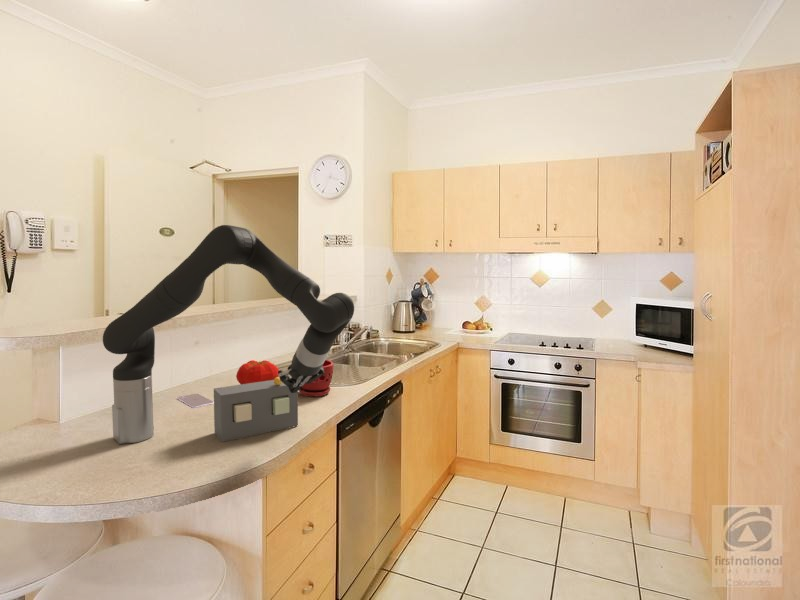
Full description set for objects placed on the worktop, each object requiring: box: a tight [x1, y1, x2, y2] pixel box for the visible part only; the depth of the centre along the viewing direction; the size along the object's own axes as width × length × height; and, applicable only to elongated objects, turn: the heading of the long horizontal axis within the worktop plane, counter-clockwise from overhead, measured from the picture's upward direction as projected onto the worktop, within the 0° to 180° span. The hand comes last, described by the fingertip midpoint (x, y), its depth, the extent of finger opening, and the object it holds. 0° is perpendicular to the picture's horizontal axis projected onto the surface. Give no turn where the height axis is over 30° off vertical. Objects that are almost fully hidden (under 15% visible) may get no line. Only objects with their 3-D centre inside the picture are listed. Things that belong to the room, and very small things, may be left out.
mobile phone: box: [177, 393, 214, 409], centre depth 161 cm, size 8×1×15 cm
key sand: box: [232, 402, 252, 422], centre depth 128 cm, size 4×4×4 cm
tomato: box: [235, 359, 280, 385], centre depth 179 cm, size 14×16×10 cm
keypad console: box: [213, 377, 299, 443], centre depth 134 cm, size 8×22×15 cm, turn 125°
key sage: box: [272, 396, 289, 415], centre depth 134 cm, size 4×4×4 cm
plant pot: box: [299, 359, 334, 397], centre depth 171 cm, size 13×13×12 cm
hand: (292, 390), depth 125 cm, fingers closed
